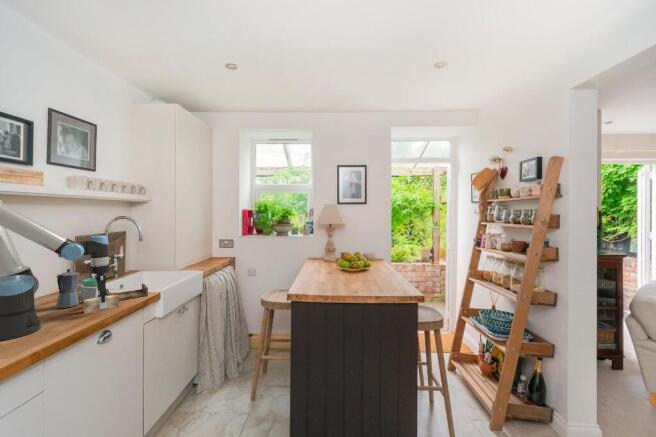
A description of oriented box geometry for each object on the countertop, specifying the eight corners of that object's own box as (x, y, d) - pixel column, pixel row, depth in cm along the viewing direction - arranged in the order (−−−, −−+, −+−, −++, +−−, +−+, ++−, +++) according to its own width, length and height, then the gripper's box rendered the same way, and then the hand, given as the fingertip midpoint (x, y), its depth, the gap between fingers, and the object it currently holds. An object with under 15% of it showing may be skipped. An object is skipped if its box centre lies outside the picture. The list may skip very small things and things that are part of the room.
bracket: (99, 301, 164) (101, 284, 164) (94, 303, 160) (96, 286, 160) (77, 299, 162) (79, 282, 162) (72, 302, 158) (74, 284, 158)
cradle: (108, 302, 157) (107, 294, 157) (106, 297, 167) (105, 289, 167) (148, 295, 170) (147, 287, 170) (143, 291, 180) (143, 283, 180)
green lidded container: (100, 296, 169) (100, 280, 169) (79, 298, 165) (79, 281, 165) (108, 290, 183) (108, 275, 182) (89, 292, 179) (89, 276, 179)
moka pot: (85, 301, 161) (84, 266, 160) (71, 309, 146) (70, 271, 146) (64, 303, 157) (63, 267, 157) (48, 312, 143) (47, 273, 142)
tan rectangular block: (84, 313, 141) (83, 302, 141) (83, 311, 144) (83, 299, 144) (118, 307, 150) (118, 296, 150) (117, 305, 154) (117, 294, 154)
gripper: (111, 267, 140) (113, 309, 141) (107, 261, 158) (109, 298, 159) (92, 269, 135) (94, 313, 136) (89, 263, 153) (91, 301, 154)
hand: (102, 305), depth 147 cm, fingers open, 13 cm apart
